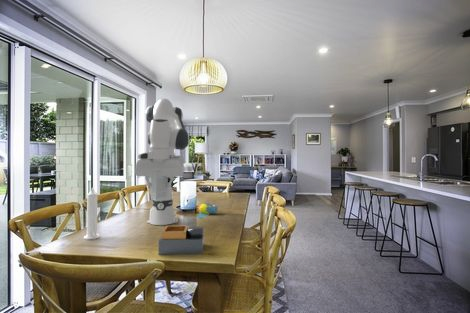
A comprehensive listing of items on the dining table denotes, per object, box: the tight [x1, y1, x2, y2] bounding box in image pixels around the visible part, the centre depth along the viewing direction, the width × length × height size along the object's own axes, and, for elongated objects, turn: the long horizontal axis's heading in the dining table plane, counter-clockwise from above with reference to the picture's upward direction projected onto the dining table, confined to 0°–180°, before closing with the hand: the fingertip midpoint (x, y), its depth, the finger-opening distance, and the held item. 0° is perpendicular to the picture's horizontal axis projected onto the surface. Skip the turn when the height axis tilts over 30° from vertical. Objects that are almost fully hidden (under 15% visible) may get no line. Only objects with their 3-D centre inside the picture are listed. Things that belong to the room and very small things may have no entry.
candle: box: [83, 187, 101, 241], centre depth 127 cm, size 7×7×25 cm
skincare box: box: [150, 172, 169, 200], centre depth 112 cm, size 6×4×12 cm
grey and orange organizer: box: [158, 225, 205, 256], centre depth 112 cm, size 12×18×9 cm, turn 95°
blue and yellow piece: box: [195, 202, 219, 220], centre depth 182 cm, size 28×9×15 cm
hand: (159, 186), depth 112 cm, fingers closed on skincare box, 7 cm apart
